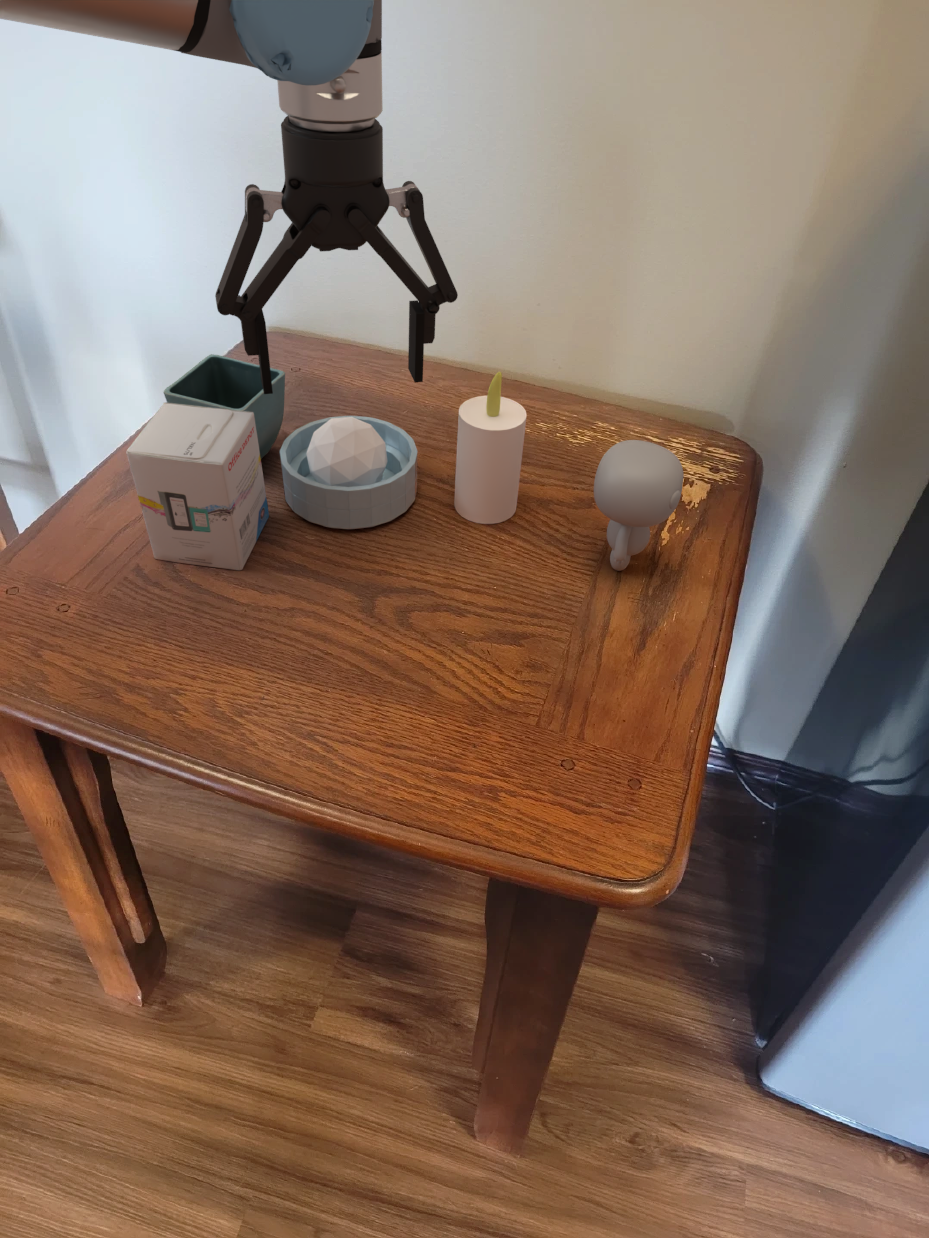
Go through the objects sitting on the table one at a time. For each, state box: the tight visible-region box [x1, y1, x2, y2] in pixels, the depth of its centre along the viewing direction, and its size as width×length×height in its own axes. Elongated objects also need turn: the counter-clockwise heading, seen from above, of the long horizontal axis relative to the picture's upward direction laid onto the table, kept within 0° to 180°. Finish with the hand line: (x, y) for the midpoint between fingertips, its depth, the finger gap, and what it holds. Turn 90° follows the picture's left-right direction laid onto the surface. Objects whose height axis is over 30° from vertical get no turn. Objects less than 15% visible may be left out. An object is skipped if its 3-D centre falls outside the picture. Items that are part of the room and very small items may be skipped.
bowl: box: [279, 415, 419, 530], centre depth 84 cm, size 13×13×5 cm
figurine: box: [593, 439, 685, 572], centre depth 76 cm, size 8×8×12 cm
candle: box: [453, 371, 527, 525], centre depth 81 cm, size 6×6×15 cm
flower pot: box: [162, 353, 286, 460], centre depth 87 cm, size 9×9×9 cm
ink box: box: [125, 401, 270, 571], centre depth 76 cm, size 9×8×12 cm
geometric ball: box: [306, 417, 388, 487], centre depth 83 cm, size 8×8×8 cm
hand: (342, 381), depth 77 cm, fingers open, 13 cm apart
